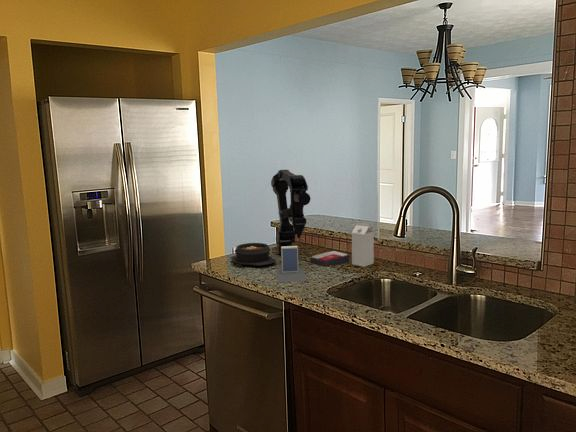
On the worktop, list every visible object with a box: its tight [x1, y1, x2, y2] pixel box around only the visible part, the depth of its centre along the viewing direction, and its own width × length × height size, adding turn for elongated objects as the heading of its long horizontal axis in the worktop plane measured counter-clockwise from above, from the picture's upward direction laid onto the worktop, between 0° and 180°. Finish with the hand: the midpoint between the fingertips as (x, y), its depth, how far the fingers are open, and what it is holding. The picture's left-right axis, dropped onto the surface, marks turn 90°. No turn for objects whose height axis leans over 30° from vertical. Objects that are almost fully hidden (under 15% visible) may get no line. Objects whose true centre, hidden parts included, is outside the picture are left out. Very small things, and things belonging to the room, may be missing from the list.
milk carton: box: [351, 222, 375, 268], centre depth 218 cm, size 7×7×19 cm
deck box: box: [280, 245, 299, 273], centre depth 208 cm, size 3×7×11 cm, turn 93°
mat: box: [275, 267, 308, 283], centre depth 204 cm, size 20×12×1 cm, turn 4°
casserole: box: [230, 242, 277, 267], centre depth 226 cm, size 25×19×8 cm
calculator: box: [309, 250, 350, 267], centre depth 224 cm, size 11×4×15 cm
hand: (297, 236), depth 223 cm, fingers open, 9 cm apart
